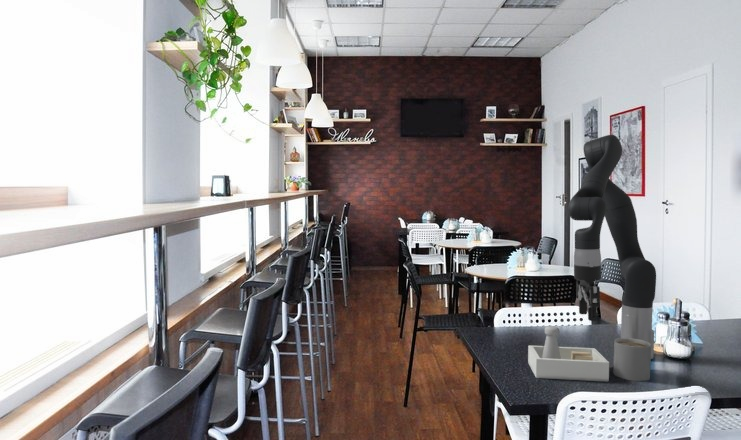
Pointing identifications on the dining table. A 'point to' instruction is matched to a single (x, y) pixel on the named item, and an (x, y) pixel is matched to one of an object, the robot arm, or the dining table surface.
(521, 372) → the dining table surface
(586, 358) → the beech cube
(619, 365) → the coffee mug
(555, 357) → the salt shaker
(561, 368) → the tray
